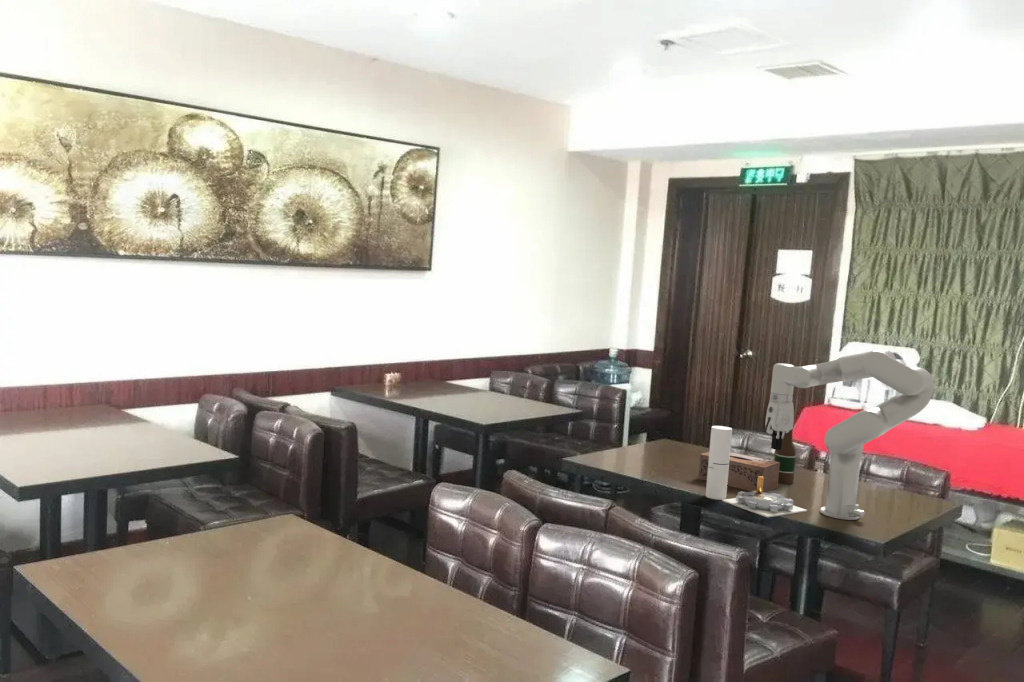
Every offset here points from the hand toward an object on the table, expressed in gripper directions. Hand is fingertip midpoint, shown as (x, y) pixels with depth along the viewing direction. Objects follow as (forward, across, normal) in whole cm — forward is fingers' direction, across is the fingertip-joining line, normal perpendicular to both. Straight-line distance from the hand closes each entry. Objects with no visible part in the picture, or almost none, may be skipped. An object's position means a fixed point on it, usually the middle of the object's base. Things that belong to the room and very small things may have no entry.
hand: (776, 449), depth 293 cm
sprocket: (+18, -10, -6) cm, 22 cm away
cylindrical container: (+19, -18, +9) cm, 28 cm away
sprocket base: (+18, -10, -6) cm, 22 cm away
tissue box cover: (+19, +6, +21) cm, 29 cm away
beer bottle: (+19, +26, +16) cm, 36 cm away
